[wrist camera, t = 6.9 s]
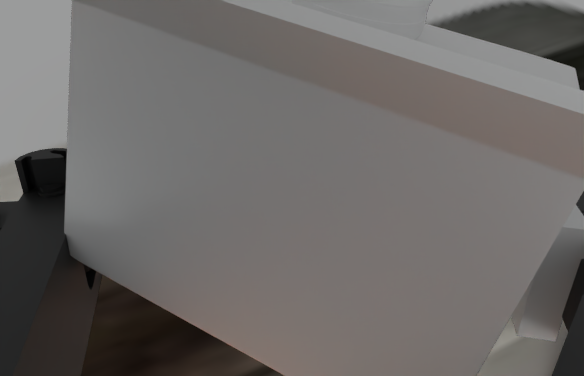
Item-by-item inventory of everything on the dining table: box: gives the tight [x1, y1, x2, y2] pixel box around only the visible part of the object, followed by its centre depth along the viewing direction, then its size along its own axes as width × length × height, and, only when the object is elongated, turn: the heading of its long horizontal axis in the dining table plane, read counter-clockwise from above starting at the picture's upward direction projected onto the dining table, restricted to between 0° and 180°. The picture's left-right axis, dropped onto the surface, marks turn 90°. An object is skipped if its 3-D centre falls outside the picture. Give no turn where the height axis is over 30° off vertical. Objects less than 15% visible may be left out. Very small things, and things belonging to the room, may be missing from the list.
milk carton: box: [64, 0, 584, 376], centre depth 14 cm, size 7×7×19 cm
